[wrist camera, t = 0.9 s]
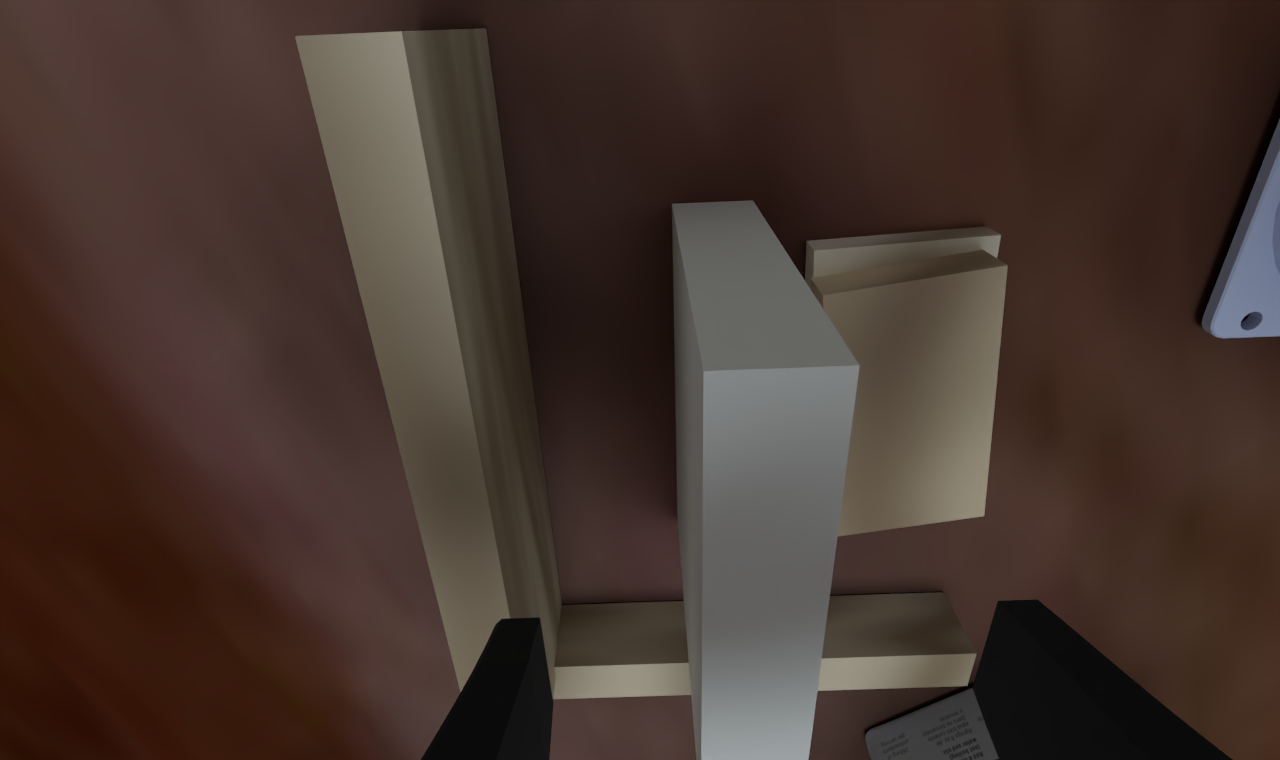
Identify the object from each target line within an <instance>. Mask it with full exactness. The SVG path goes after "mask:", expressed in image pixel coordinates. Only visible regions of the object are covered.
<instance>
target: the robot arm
mask: <svg viewBox="0 0 1280 760" xmlns="http://www.w3.org/2000/svg"><path fill="white" fill-rule="evenodd" d="M1249 313H1250V315H1249V316H1248V318H1247V319H1246V320H1245V321H1243V322H1242V323H1241V321H1242V320H1243V318H1244V317H1245V316H1246V315H1248V314H1249ZM1202 326H1203V329H1204V330H1205V331H1207V332H1208V333H1210V334H1211V335H1213V336H1215V337H1217V338H1248V337H1274V336H1280V119H1279V122H1278V124H1277V127H1276V129H1275V132H1274V134H1273V137H1272V140H1271V142H1270V145H1269V147H1268V150H1267V153H1266V155H1265V158H1264V160H1263V163H1262V165H1261V168H1260V171H1259V173H1258V176H1257V178H1256V181H1255V184H1254V186H1253V189H1252V191H1251V194H1250V197H1249V199H1248V202H1247V204H1246V207H1245V209H1244V212H1243V215H1242V217H1241V220H1240V222H1239V225H1238V228H1237V230H1236V233H1235V235H1234V238H1233V240H1232V243H1231V246H1230V248H1229V251H1228V253H1227V256H1226V259H1225V261H1224V264H1223V266H1222V269H1221V271H1220V274H1219V277H1218V279H1217V282H1216V284H1215V287H1214V290H1213V292H1212V295H1211V297H1210V300H1209V303H1208V305H1207V308H1206V310H1205V313H1204V315H1203V319H1202ZM973 691H974V694H975V696H976V699H977V702H978V705H979V708H980V710H981V713H982V716H983V719H984V722H985V724H986V727H987V730H988V732H989V735H990V737H991V740H992V742H993V745H994V747H995V750H996V753H997V755H998V757H999V759H1000V760H1232V759H1231V758H1229V757H1228V756H1227V755H1226V754H1224V753H1223V752H1222V751H1220V750H1219V749H1218V748H1217V747H1215V746H1214V745H1213V744H1212V743H1210V742H1209V741H1208V740H1206V739H1205V738H1204V737H1203V736H1201V735H1200V734H1199V733H1197V732H1196V731H1195V730H1194V729H1192V728H1191V727H1190V726H1189V725H1187V724H1186V723H1185V722H1184V721H1182V720H1181V719H1180V718H1179V717H1178V716H1176V715H1175V714H1174V713H1173V712H1171V711H1170V710H1169V709H1168V708H1166V707H1165V706H1164V705H1163V704H1162V703H1160V702H1159V701H1158V700H1157V699H1155V698H1154V697H1153V696H1152V695H1151V694H1149V693H1148V692H1147V691H1146V690H1145V689H1143V688H1142V687H1141V686H1140V685H1139V684H1137V683H1136V682H1135V681H1134V680H1132V679H1131V678H1130V677H1129V676H1128V675H1127V674H1125V673H1124V672H1123V671H1122V670H1121V669H1119V668H1118V667H1117V666H1116V665H1115V664H1113V663H1112V662H1111V661H1110V660H1109V659H1108V658H1106V657H1105V656H1104V655H1103V654H1102V653H1100V652H1099V651H1098V650H1097V649H1096V648H1095V647H1093V646H1092V645H1091V644H1090V643H1089V642H1087V641H1086V640H1085V639H1084V638H1083V637H1082V636H1080V635H1079V634H1078V633H1077V632H1076V631H1074V630H1073V629H1072V628H1071V627H1070V626H1069V625H1067V624H1066V623H1065V622H1064V621H1063V620H1061V619H1060V618H1059V617H1058V616H1057V615H1055V614H1054V613H1053V612H1052V611H1051V610H1049V609H1048V608H1047V607H1046V606H1044V605H1043V604H1042V603H1041V602H1040V601H1038V600H1014V601H998V603H997V606H996V610H995V613H994V617H993V620H992V623H991V627H990V630H989V634H988V637H987V640H986V644H985V647H984V651H983V654H982V657H981V661H980V664H979V668H978V671H977V675H976V678H975V681H974V685H973ZM552 713H553V698H552V691H551V685H550V678H549V672H548V665H547V659H546V652H545V646H544V640H543V633H542V627H541V620H540V617H535V618H507V619H501V620H500V621H499V622H498V623H496V625H495V627H494V629H493V631H492V633H491V635H490V637H489V640H488V642H487V644H486V646H485V648H484V650H483V652H482V654H481V656H480V658H479V659H478V661H477V663H476V665H475V667H474V669H473V671H472V673H471V675H470V677H469V678H468V680H467V682H466V684H465V686H464V687H463V689H462V691H461V693H460V695H459V696H458V698H457V700H456V702H455V704H454V705H453V707H452V709H451V710H450V712H449V714H448V715H447V717H446V719H445V720H444V722H443V724H442V725H441V727H440V729H439V731H438V732H437V734H436V736H435V737H434V739H433V741H432V742H431V744H430V746H429V747H428V749H427V751H426V752H425V754H424V755H423V757H422V759H421V760H549V755H550V742H551V728H552Z"/></svg>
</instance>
